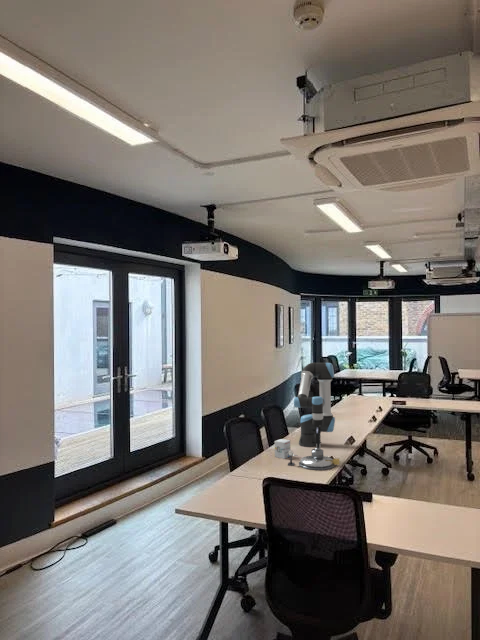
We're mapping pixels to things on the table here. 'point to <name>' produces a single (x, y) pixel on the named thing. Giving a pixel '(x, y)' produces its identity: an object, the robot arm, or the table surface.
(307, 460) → the turntable
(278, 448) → the ink box
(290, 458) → the dial post
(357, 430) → the table surface
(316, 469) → the base
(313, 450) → the cover
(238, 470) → the table surface
